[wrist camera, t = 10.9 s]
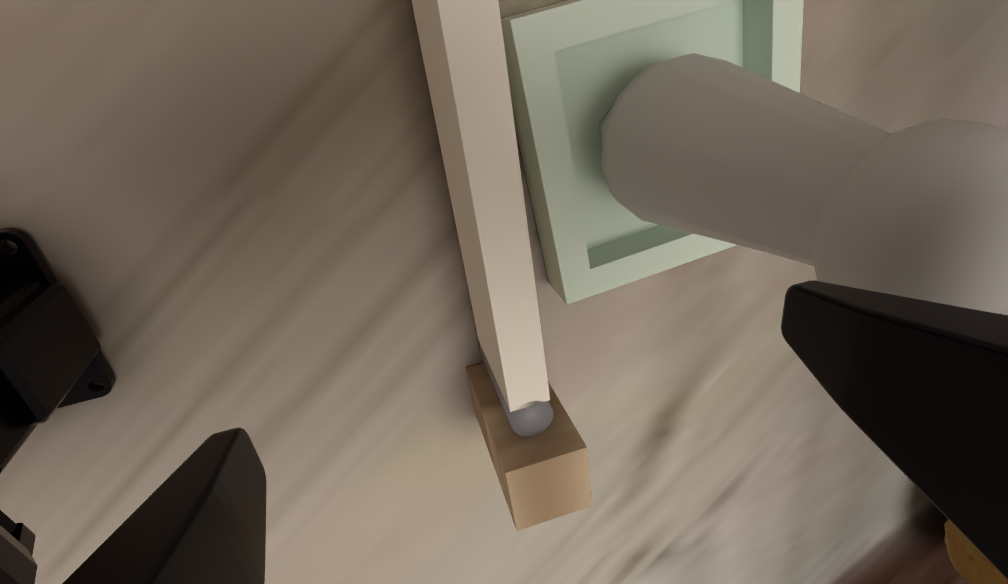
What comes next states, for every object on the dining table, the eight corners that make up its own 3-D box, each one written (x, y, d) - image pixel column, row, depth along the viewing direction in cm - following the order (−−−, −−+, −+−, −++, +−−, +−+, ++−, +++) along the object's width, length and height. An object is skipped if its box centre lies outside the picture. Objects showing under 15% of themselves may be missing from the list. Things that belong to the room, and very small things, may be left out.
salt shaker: (671, 14, 19) (1139, -3, 8) (735, 136, 22) (1149, 251, 11) (548, 128, 20) (821, 261, 9) (626, 232, 23) (909, 437, 11)
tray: (548, 282, 23) (567, 304, 21) (492, 20, 18) (510, 20, 16) (758, 209, 25) (793, 224, 23) (760, -53, 20) (805, -62, 18)
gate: (482, 366, 24) (514, 441, 20) (360, -250, 14) (368, -370, 10) (516, 357, 24) (555, 429, 20) (419, -254, 15) (452, -373, 10)
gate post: (477, 418, 26) (516, 531, 20) (466, 367, 24) (505, 472, 18) (536, 400, 26) (592, 505, 20) (529, 349, 25) (586, 447, 19)
